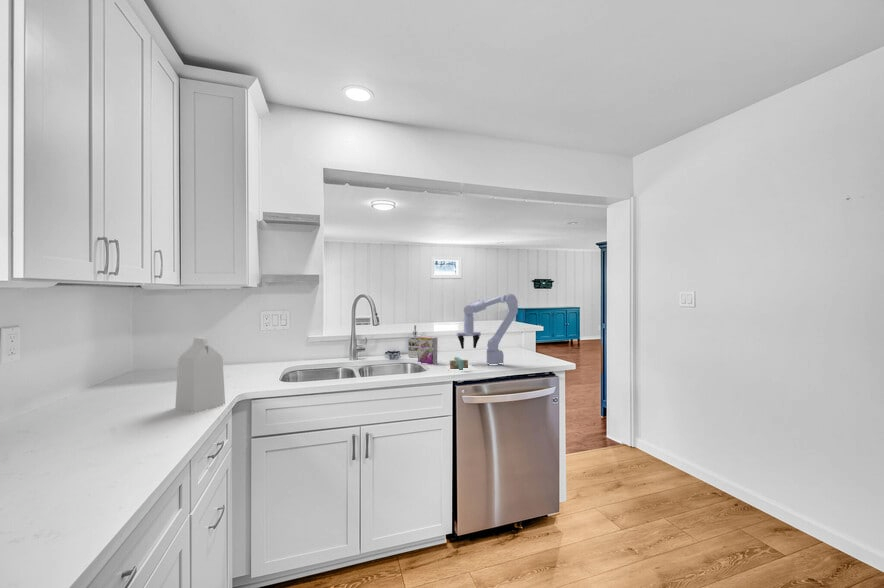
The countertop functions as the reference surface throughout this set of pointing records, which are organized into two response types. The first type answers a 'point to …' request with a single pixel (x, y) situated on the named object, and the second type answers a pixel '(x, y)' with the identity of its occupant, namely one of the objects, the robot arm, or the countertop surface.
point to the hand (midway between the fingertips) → (468, 348)
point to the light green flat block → (459, 363)
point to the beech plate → (454, 366)
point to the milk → (200, 378)
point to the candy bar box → (427, 349)
